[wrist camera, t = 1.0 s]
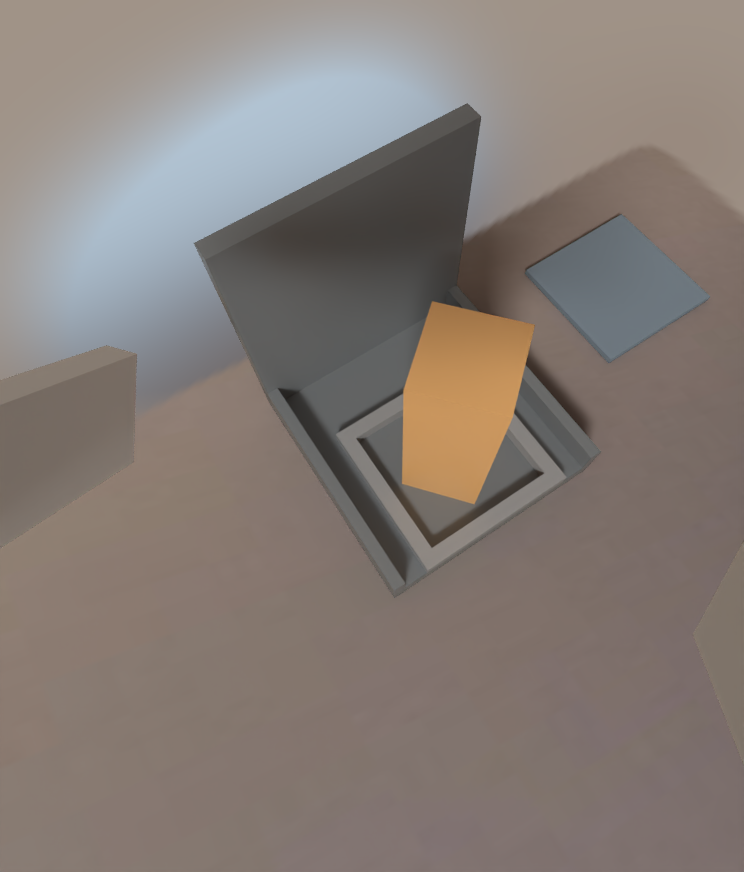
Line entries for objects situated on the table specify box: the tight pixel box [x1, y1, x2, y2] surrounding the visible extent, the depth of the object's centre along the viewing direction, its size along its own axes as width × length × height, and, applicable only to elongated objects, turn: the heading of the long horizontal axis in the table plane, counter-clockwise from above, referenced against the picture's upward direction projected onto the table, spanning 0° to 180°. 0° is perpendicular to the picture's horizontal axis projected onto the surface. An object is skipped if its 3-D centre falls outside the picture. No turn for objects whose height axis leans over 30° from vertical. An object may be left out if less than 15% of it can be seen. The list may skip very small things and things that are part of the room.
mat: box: [525, 214, 710, 363], centre depth 46 cm, size 10×10×1 cm
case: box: [194, 104, 601, 598], centre depth 34 cm, size 18×16×18 cm
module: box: [402, 301, 535, 504], centre depth 33 cm, size 5×5×14 cm
